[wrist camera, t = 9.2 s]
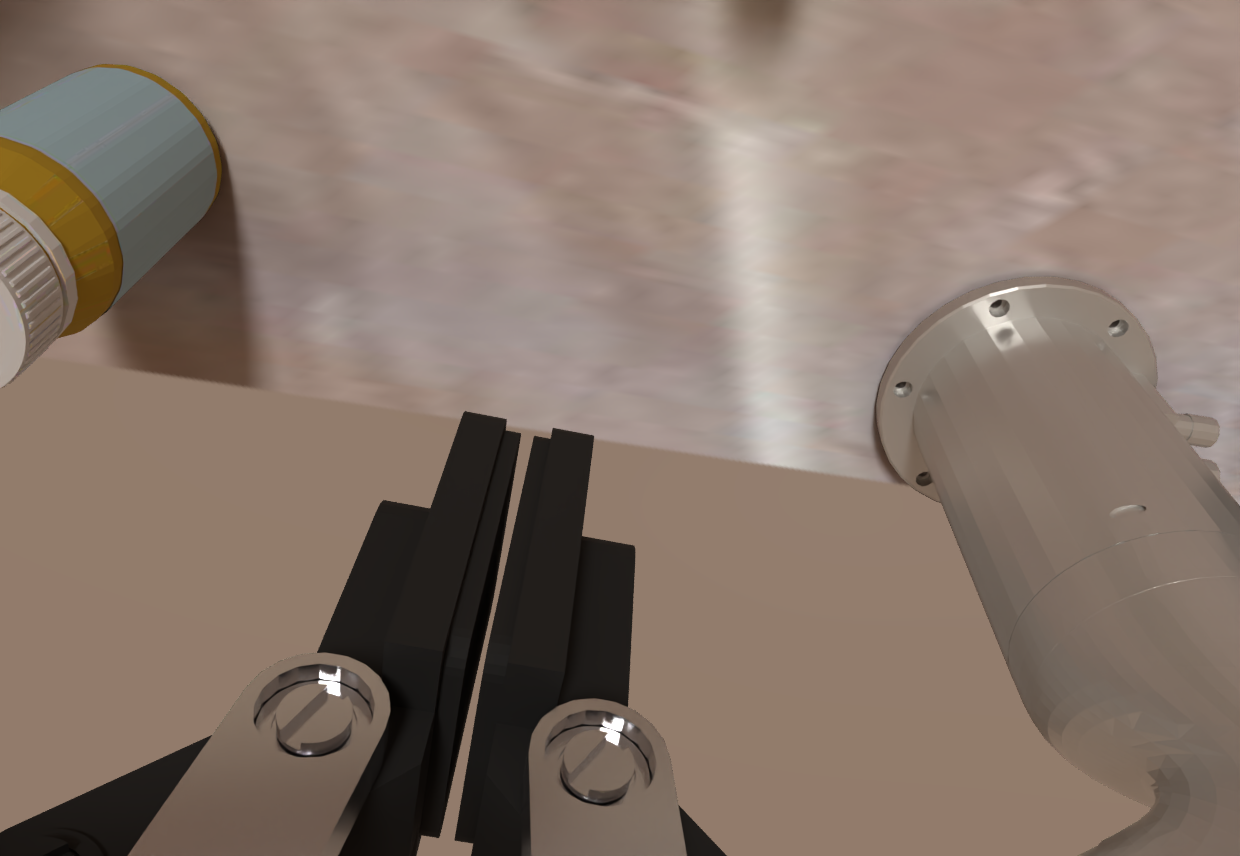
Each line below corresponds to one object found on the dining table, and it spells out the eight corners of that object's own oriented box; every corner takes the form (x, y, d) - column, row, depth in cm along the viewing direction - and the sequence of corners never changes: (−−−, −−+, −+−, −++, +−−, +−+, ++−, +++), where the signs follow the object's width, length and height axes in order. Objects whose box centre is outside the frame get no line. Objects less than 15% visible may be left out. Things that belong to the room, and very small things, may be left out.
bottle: (185, 255, 43) (-3, 449, 30) (31, 158, 41) (-241, 325, 28) (256, 134, 40) (78, 295, 27) (93, 21, 37) (-183, 141, 25)
